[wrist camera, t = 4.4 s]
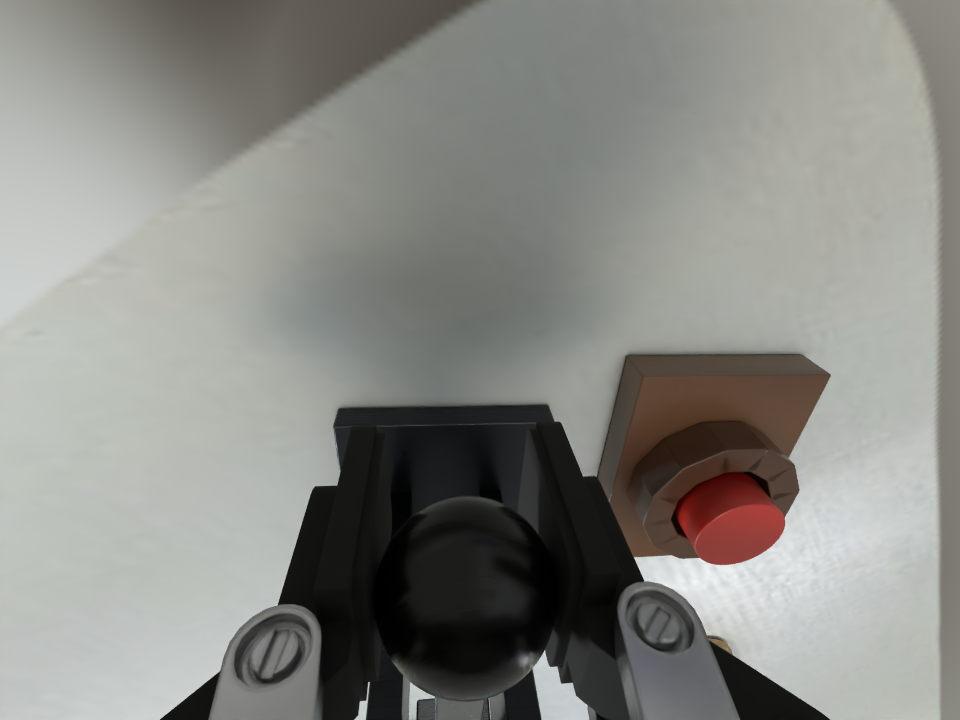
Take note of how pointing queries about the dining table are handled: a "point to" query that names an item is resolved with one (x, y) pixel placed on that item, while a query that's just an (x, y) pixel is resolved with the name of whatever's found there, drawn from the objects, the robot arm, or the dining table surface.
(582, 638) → the robot arm
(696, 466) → the button block
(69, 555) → the dining table surface
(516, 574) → the lever
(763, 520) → the button
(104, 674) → the dining table surface
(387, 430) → the bracket
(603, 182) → the dining table surface
